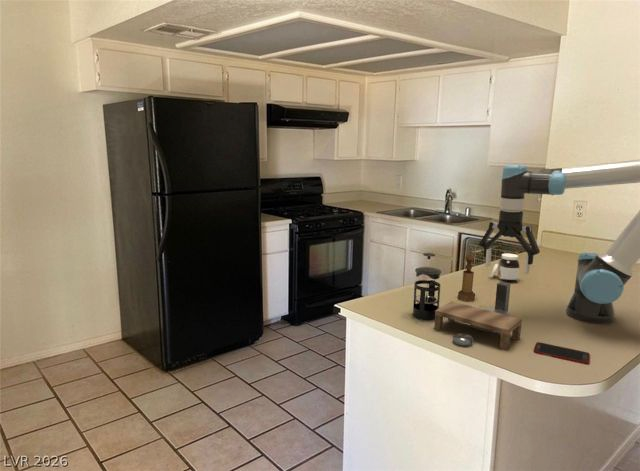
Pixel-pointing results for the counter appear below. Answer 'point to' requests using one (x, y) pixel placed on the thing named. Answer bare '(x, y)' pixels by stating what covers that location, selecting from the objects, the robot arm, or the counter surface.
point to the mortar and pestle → (467, 282)
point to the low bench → (480, 320)
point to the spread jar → (507, 268)
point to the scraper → (499, 302)
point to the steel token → (462, 340)
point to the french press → (426, 302)
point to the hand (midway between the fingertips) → (506, 269)
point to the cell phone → (562, 353)
